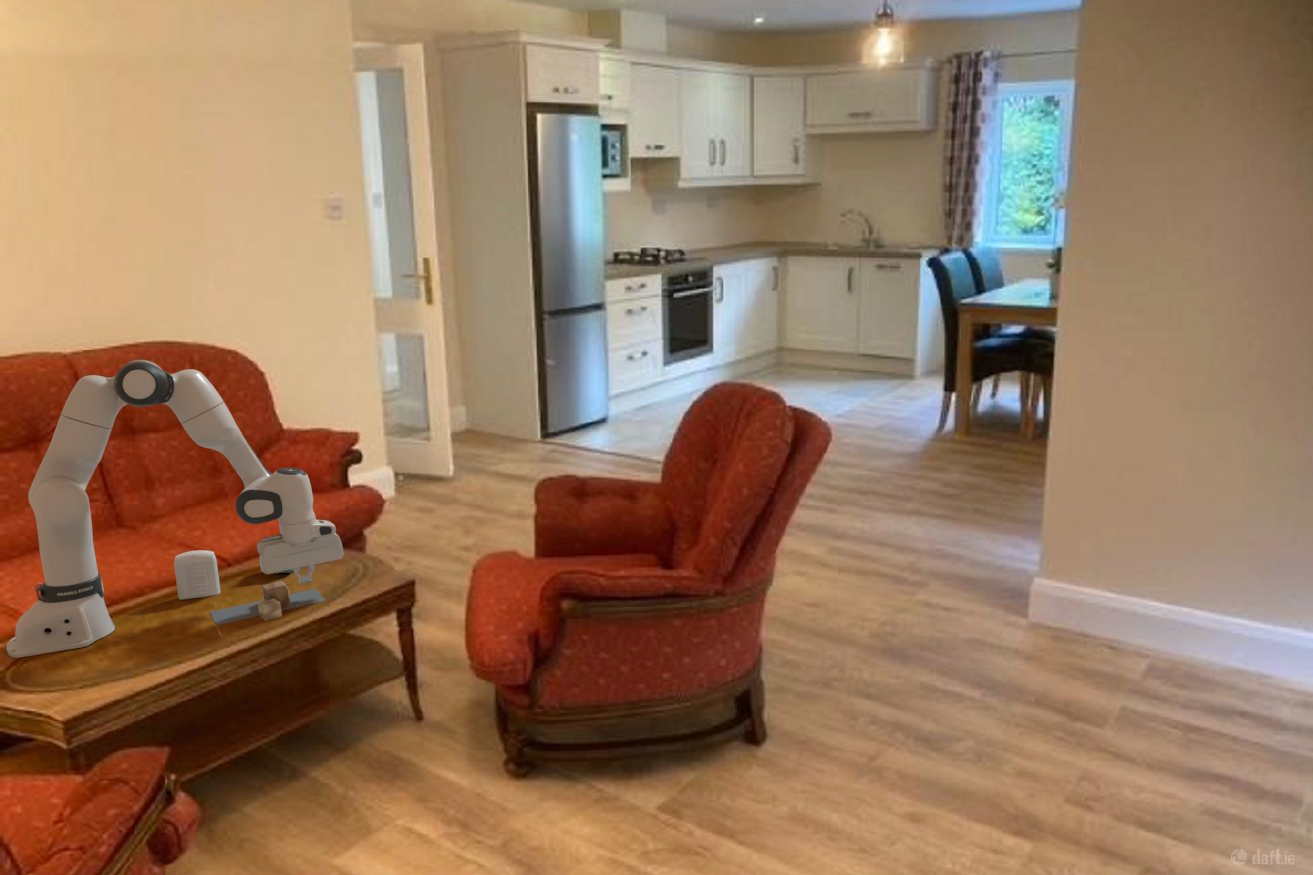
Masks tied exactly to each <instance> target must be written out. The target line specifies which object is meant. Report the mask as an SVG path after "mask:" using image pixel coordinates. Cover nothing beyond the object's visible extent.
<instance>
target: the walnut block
mask: <svg viewBox="0 0 1313 875" xmlns="http://www.w3.org/2000/svg"><path fill="white" fill-rule="evenodd" d="M262 591H263V598H264V599H263V600H265V601H267V600H270V599H275V600H277V601H279V602H280V605H281V609H282V608H286V607H291V601H290V594H291V593H290V589H289V587H288V586H287V585H286V584H285V583H284V582H283V581H282V580H280V581H279V580H278V581H275V582H272V583H266V584H262Z"/></svg>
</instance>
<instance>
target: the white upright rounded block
mask: <svg viewBox="0 0 1313 875" xmlns="http://www.w3.org/2000/svg"><path fill="white" fill-rule="evenodd" d="M173 566H174V574H175V581H176V588H177V590H176V591H177V595H178V596H177V597H178V600H181V601H182V600H189V599H198V598H205V597H211V596H212V597H213V596H217V595H219V594H221V586H220V585H221V584H220V577H219V569H218V562H217V557H216V555H215V552H214V551H212V550H201V549H200V550H199V549H198V550H191V551H185V552H181V553H180V554H177V555H176V556H175V557H174V563H173Z"/></svg>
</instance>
